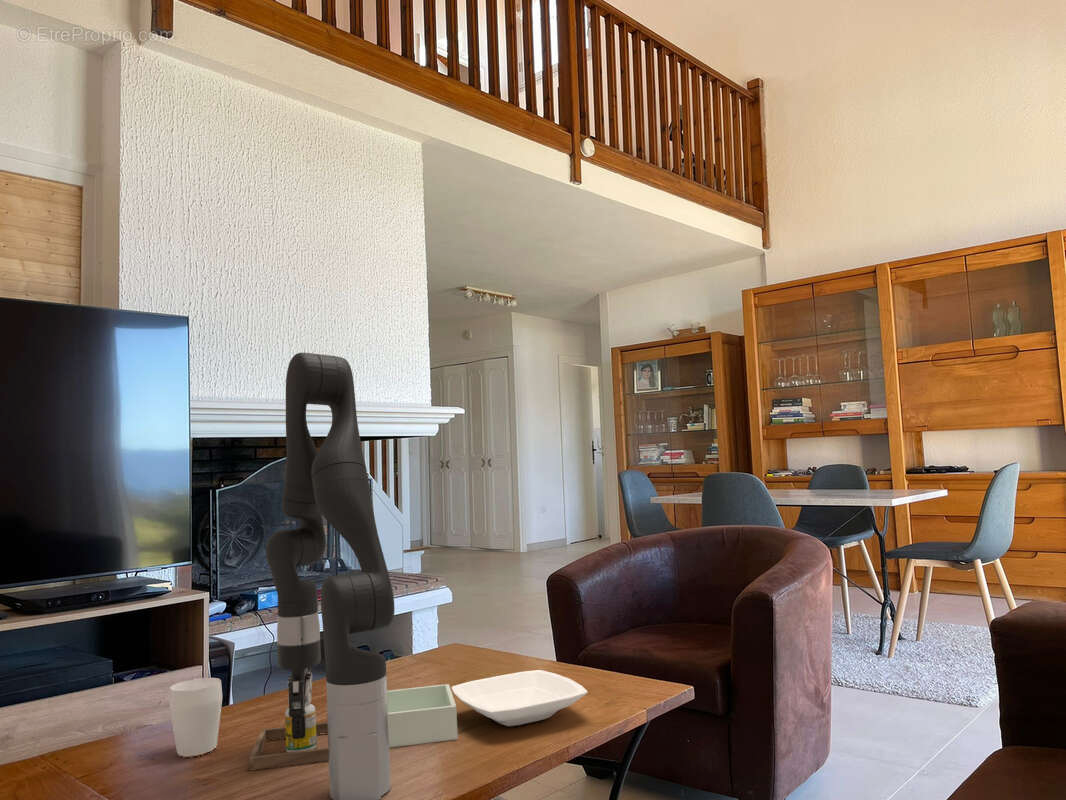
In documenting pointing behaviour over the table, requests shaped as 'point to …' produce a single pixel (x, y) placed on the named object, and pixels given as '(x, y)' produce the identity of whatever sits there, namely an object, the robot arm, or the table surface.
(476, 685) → the bowl
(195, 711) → the cup
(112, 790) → the table surface
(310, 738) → the supplement bottle
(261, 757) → the walnut frame
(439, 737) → the plastic bin
